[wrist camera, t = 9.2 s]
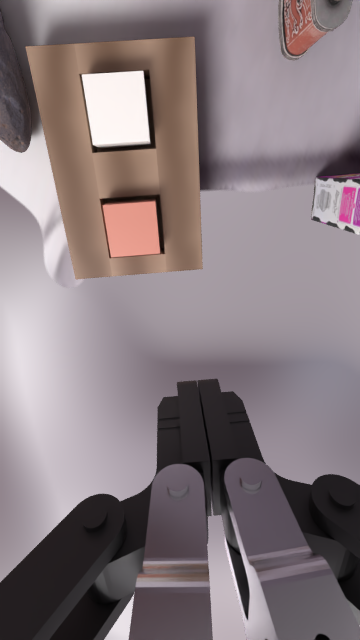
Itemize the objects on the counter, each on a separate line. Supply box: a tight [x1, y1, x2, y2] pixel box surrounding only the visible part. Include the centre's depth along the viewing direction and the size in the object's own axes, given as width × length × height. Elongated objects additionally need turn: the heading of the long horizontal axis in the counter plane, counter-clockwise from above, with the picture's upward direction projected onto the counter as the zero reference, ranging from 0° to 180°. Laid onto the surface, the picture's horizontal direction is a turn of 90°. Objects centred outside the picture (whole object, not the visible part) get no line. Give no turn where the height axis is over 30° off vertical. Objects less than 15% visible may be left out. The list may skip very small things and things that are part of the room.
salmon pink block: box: [103, 198, 160, 257], centre depth 32 cm, size 5×5×4 cm
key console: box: [25, 37, 202, 279], centre depth 32 cm, size 14×20×4 cm
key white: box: [82, 71, 151, 148], centre depth 28 cm, size 5×5×4 cm
